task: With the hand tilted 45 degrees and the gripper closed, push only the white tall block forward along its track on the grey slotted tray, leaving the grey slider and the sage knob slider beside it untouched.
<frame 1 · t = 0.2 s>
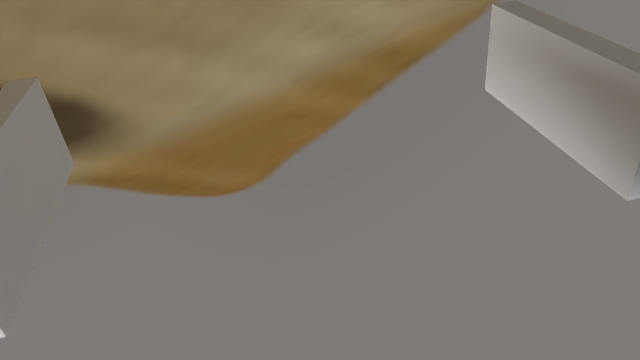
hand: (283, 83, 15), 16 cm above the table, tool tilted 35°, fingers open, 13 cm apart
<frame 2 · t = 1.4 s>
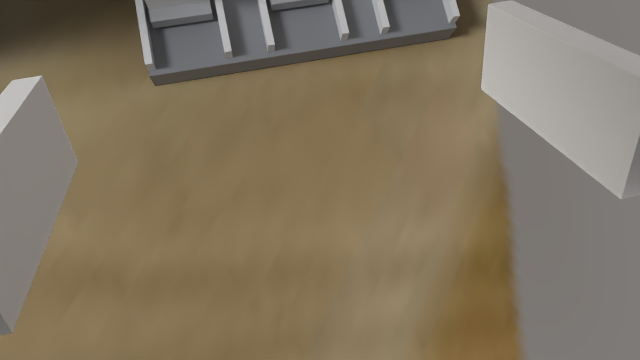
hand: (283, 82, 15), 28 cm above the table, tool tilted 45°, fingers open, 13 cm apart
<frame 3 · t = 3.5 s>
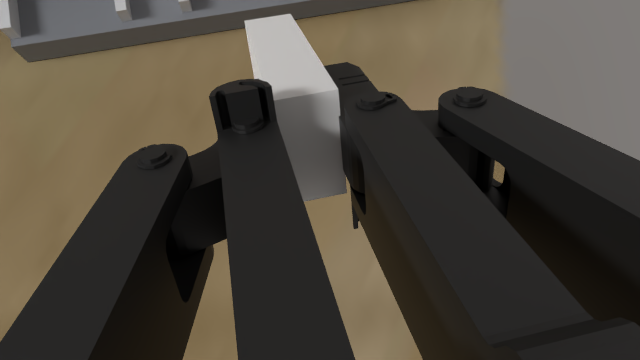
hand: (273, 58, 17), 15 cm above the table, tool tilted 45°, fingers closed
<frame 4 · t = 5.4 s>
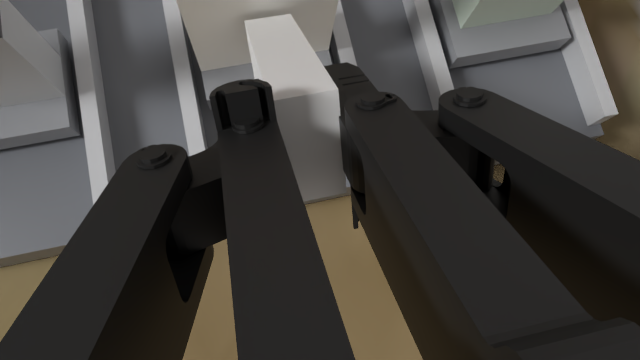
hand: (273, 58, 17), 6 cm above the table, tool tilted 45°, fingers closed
grey slotted tray: (252, 20, 24), on the table
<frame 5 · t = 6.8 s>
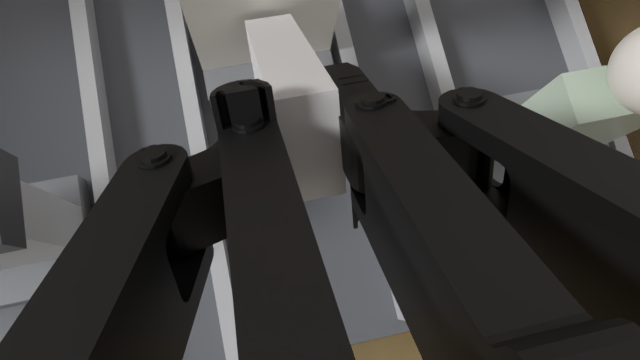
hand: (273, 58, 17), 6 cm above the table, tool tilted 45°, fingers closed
sage knob slider: (595, 108, 17), point 7 cm above the table, slide at 0.0 cm
grey slotted tray: (278, 138, 22), on the table
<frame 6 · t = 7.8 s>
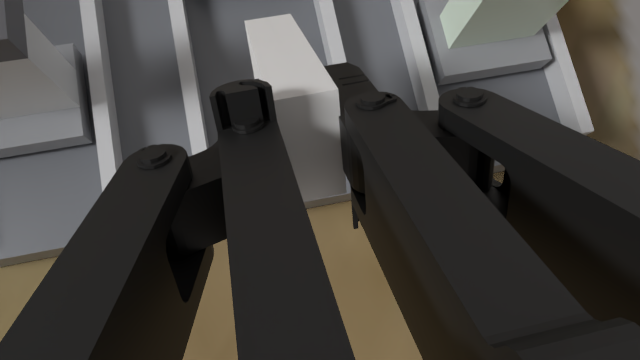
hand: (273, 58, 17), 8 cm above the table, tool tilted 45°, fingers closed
grey slotted tray: (254, 35, 25), on the table
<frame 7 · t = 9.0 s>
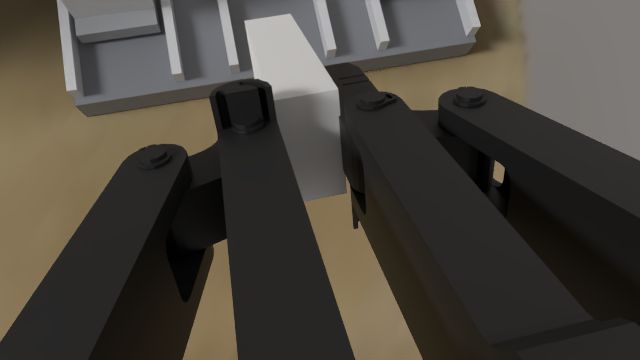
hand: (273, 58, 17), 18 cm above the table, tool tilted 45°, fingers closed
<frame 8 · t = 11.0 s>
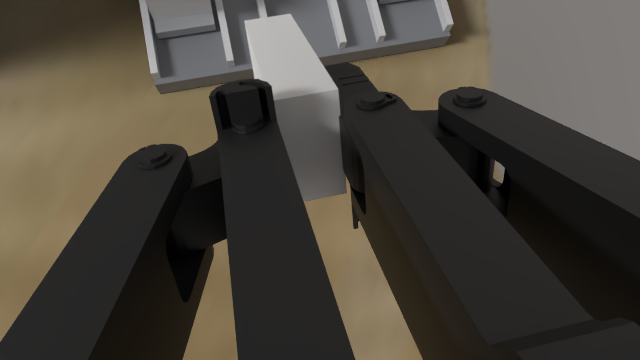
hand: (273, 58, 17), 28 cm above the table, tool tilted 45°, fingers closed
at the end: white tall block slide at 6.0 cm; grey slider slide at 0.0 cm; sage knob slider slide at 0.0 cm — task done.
